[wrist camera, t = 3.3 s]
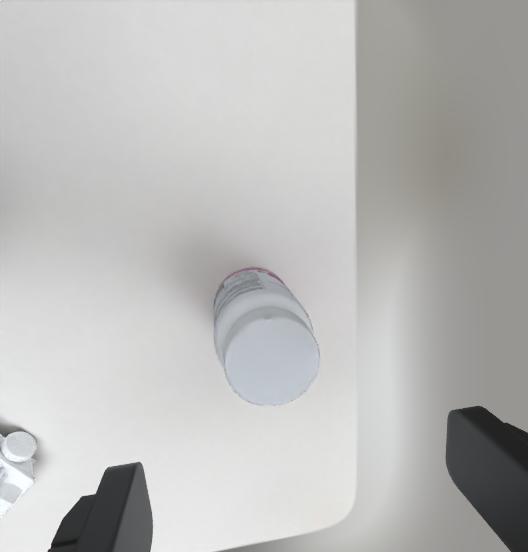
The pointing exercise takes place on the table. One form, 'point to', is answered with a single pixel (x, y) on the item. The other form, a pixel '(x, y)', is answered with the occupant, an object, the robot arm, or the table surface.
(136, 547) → the robot arm
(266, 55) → the table surface
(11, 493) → the toy car
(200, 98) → the table surface
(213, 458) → the table surface
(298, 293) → the table surface
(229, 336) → the pill bottle
